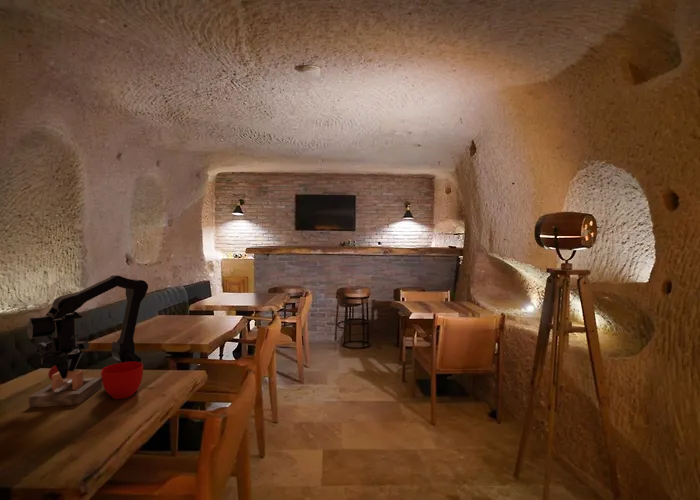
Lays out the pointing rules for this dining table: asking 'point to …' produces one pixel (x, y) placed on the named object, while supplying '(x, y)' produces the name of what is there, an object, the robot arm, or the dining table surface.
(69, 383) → the hook rod
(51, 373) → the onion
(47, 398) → the grey flat frame
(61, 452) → the dining table surface
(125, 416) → the dining table surface
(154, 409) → the dining table surface
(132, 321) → the robot arm
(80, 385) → the orange arch block
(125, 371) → the red bowl
